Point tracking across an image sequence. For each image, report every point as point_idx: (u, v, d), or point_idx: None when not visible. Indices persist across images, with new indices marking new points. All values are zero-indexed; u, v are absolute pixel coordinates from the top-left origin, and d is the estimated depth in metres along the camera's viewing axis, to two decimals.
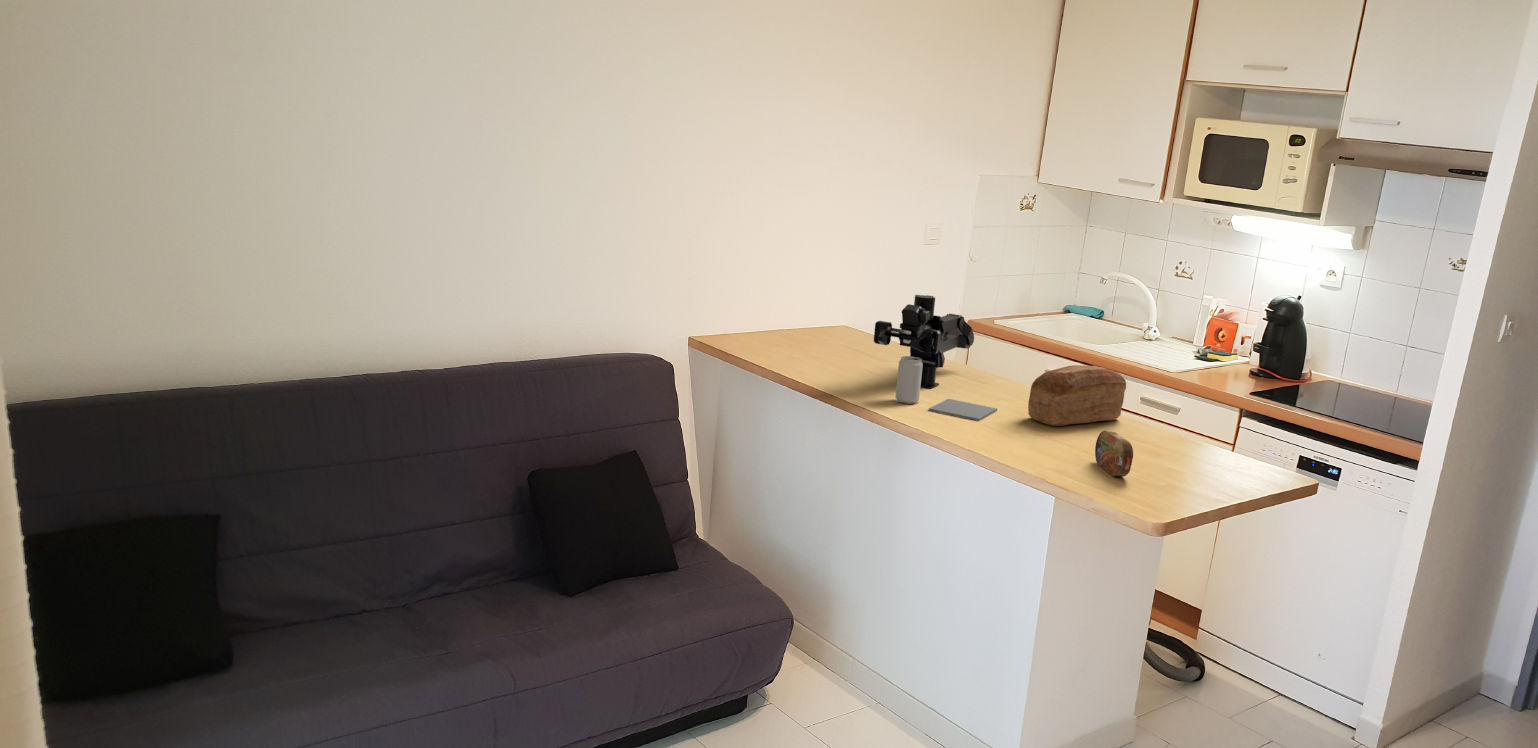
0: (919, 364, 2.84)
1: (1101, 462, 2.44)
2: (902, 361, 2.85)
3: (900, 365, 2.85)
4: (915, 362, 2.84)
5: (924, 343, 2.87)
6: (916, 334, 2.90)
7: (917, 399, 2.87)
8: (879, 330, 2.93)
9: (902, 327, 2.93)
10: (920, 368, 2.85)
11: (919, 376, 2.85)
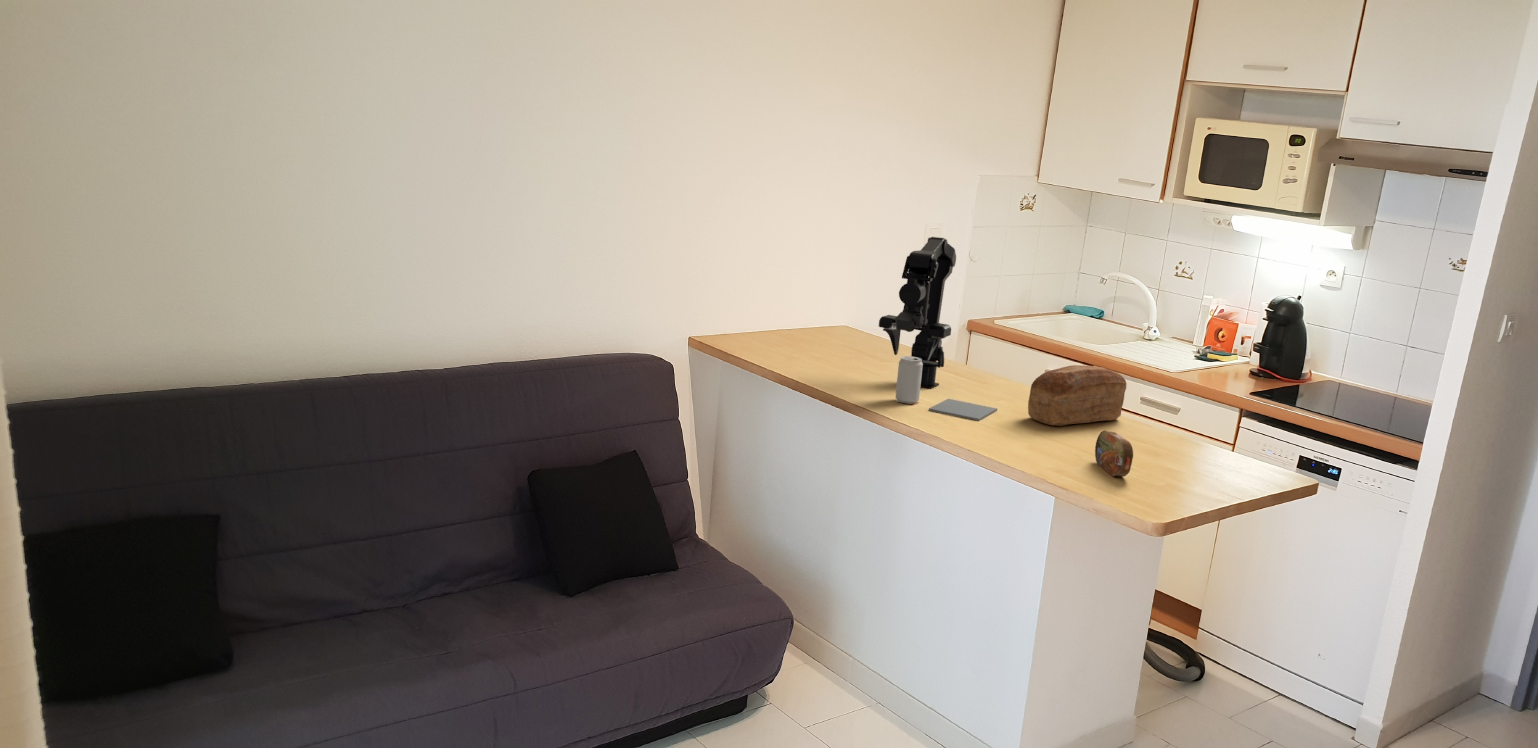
0: (919, 364, 2.84)
1: (1101, 462, 2.44)
2: (902, 361, 2.85)
3: (900, 365, 2.85)
4: (915, 362, 2.84)
5: None
6: (921, 325, 2.82)
7: (917, 399, 2.87)
8: None
9: None
10: (920, 368, 2.85)
11: (919, 376, 2.85)
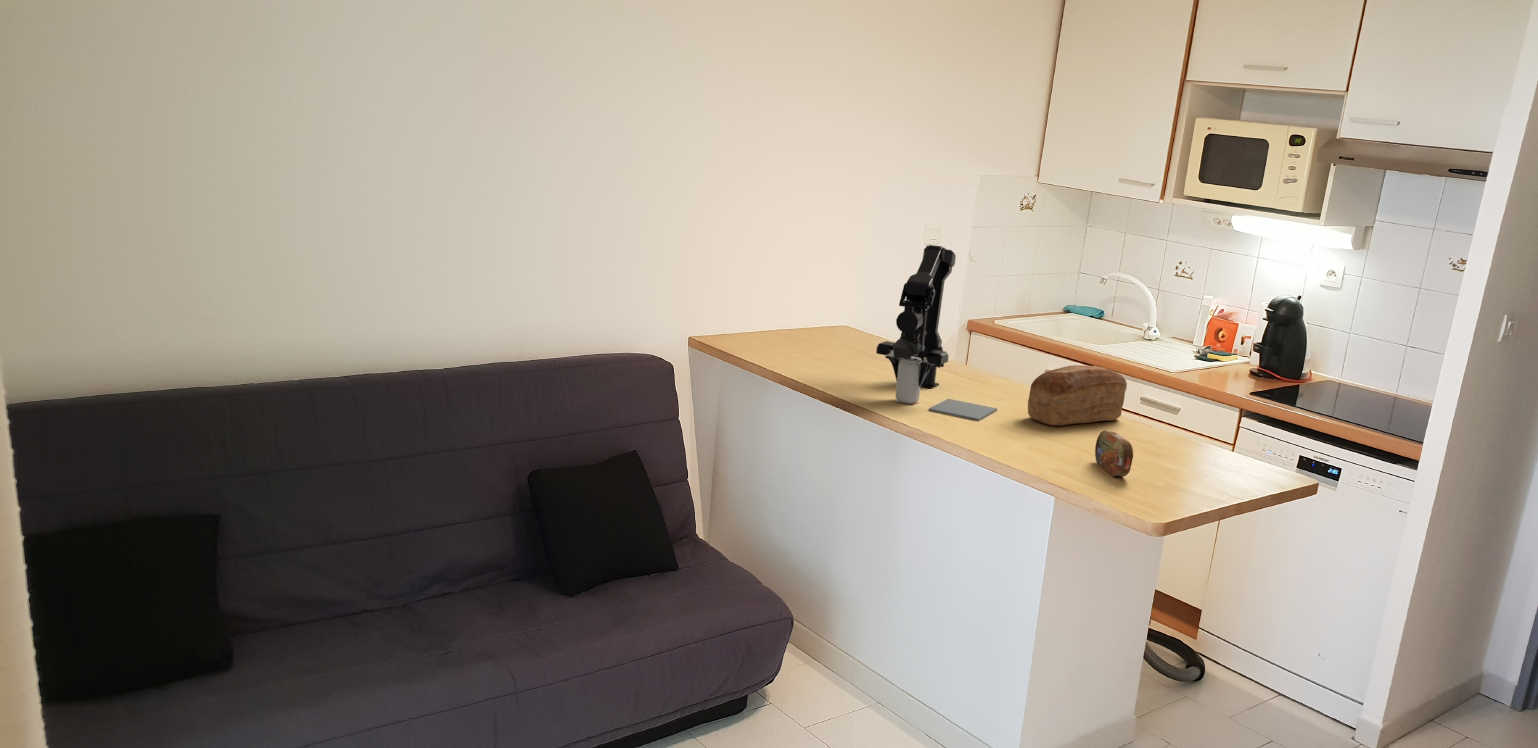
0: (919, 364, 2.84)
1: (1101, 462, 2.44)
2: (902, 361, 2.85)
3: (900, 365, 2.85)
4: (915, 362, 2.84)
5: None
6: (919, 352, 2.84)
7: (917, 399, 2.87)
8: None
9: None
10: (920, 368, 2.85)
11: (919, 376, 2.85)
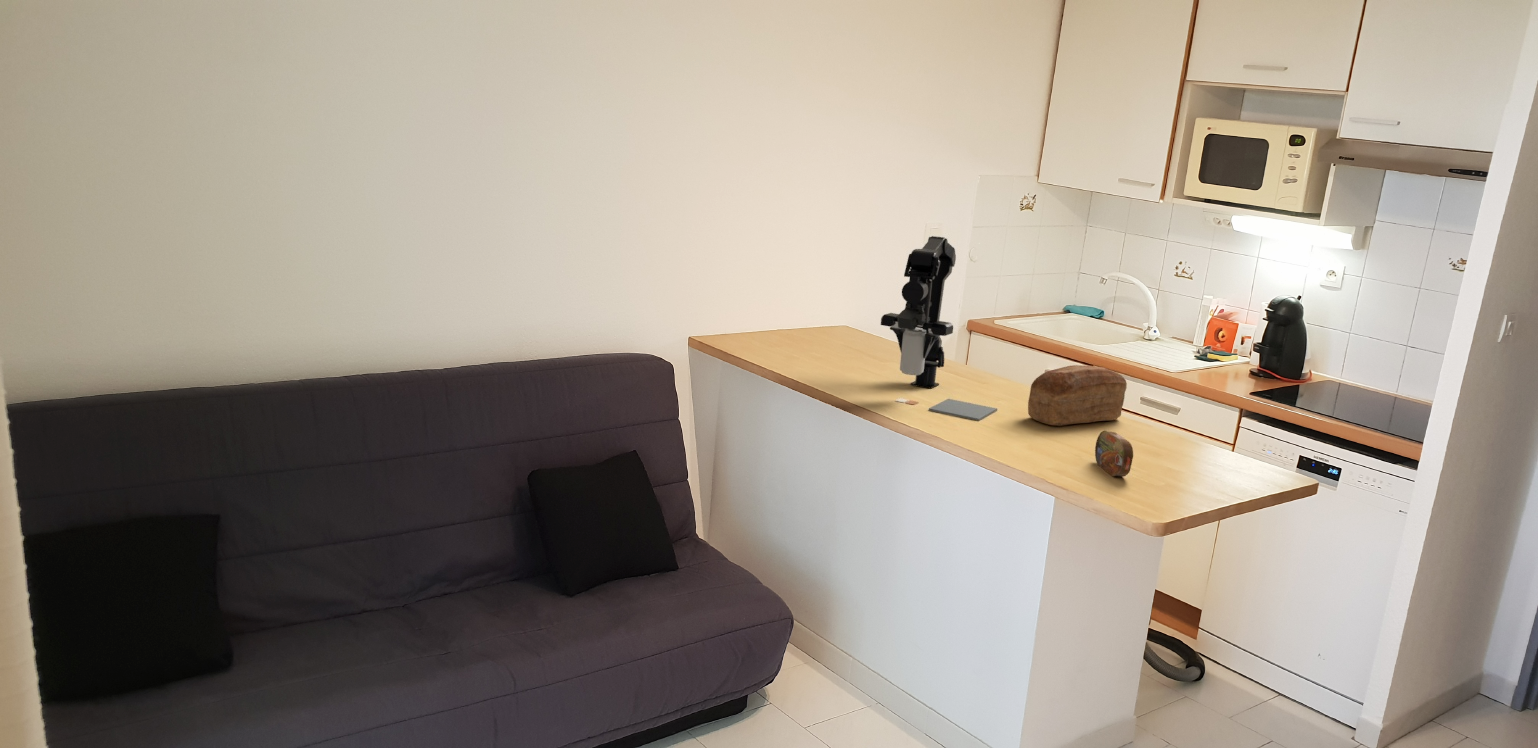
0: (924, 335, 2.82)
1: (1101, 462, 2.44)
2: (906, 332, 2.83)
3: (904, 336, 2.83)
4: (919, 333, 2.82)
5: None
6: (923, 323, 2.82)
7: (921, 371, 2.85)
8: None
9: None
10: (924, 339, 2.83)
11: (923, 347, 2.83)
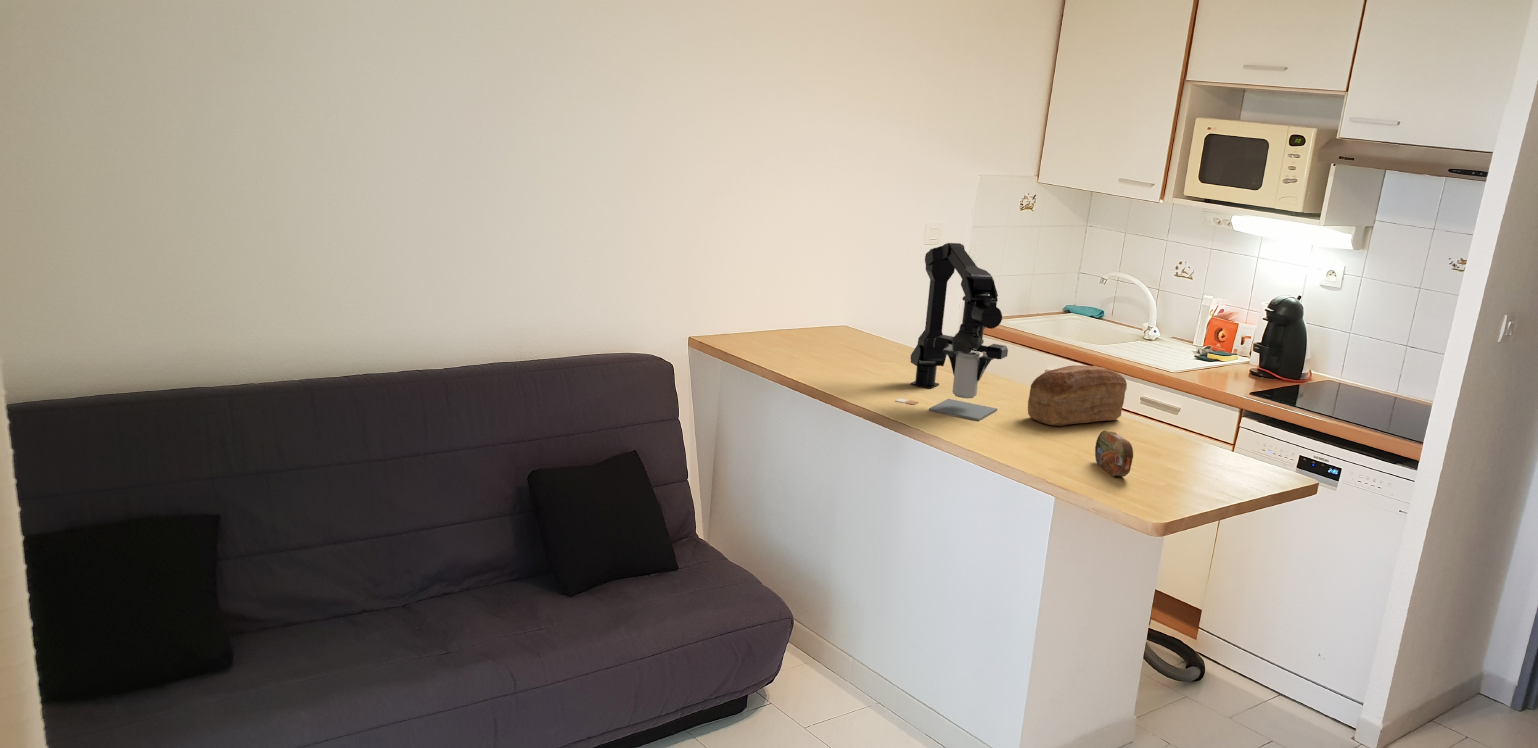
0: (978, 358, 2.79)
1: (1101, 462, 2.44)
2: (960, 355, 2.79)
3: (958, 359, 2.80)
4: (973, 356, 2.78)
5: None
6: None
7: (975, 394, 2.81)
8: None
9: None
10: (978, 362, 2.79)
11: (977, 370, 2.79)
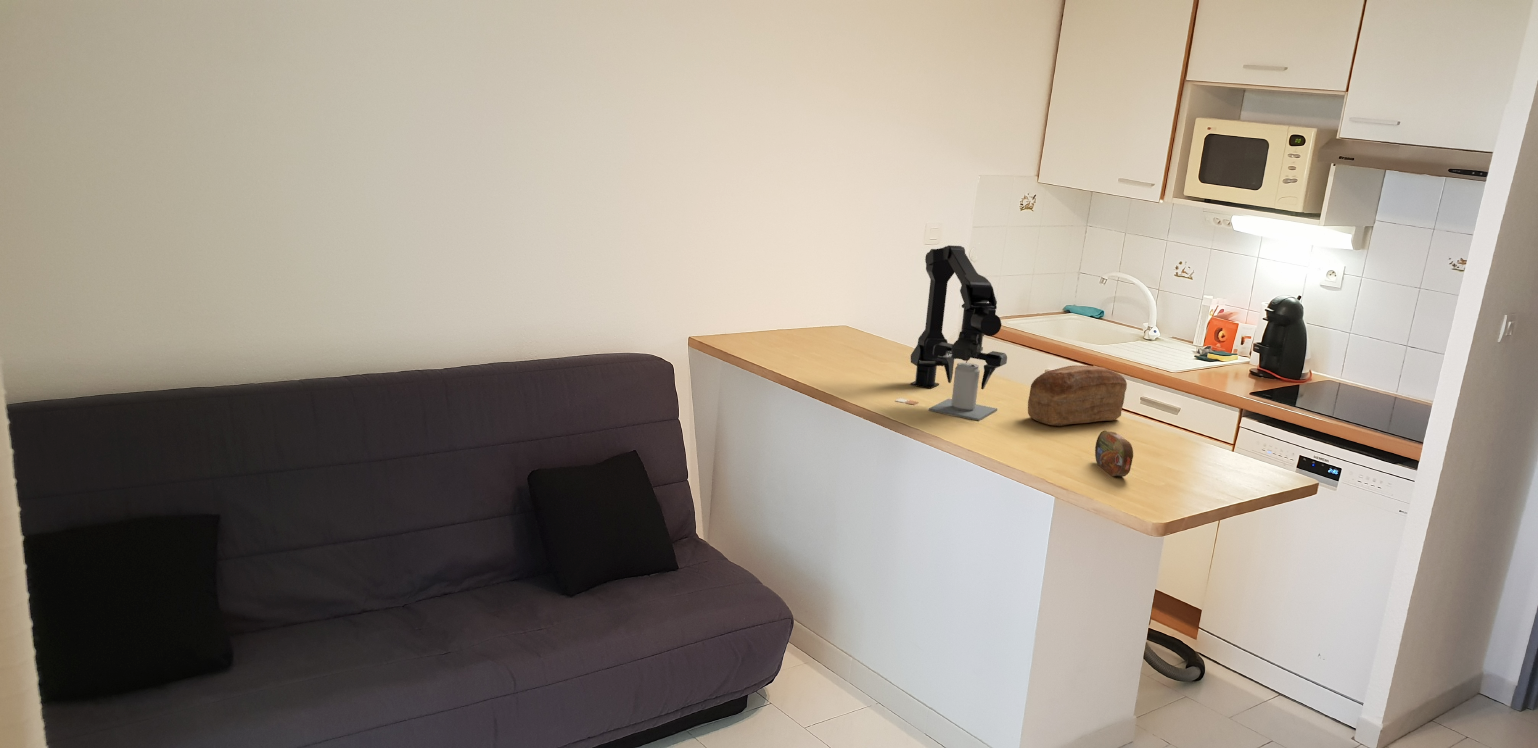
0: (977, 371, 2.79)
1: (1101, 462, 2.44)
2: (959, 368, 2.80)
3: (957, 372, 2.80)
4: (973, 369, 2.79)
5: None
6: None
7: (974, 406, 2.82)
8: None
9: None
10: (977, 375, 2.80)
11: (976, 383, 2.80)
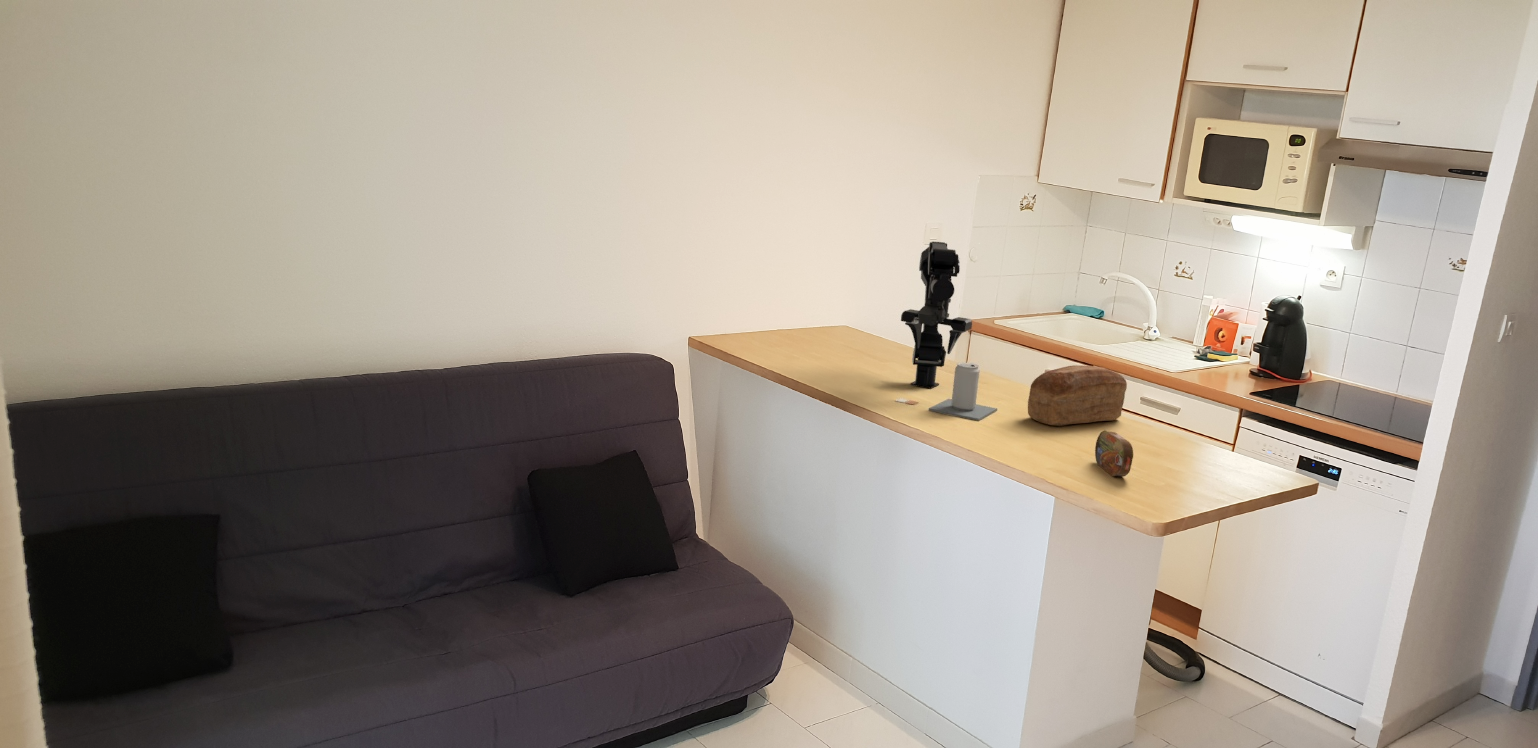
0: (977, 371, 2.79)
1: (1101, 462, 2.44)
2: (959, 368, 2.80)
3: (957, 372, 2.80)
4: (972, 369, 2.79)
5: None
6: (943, 319, 2.89)
7: (974, 406, 2.82)
8: None
9: None
10: (977, 375, 2.80)
11: (976, 383, 2.80)
